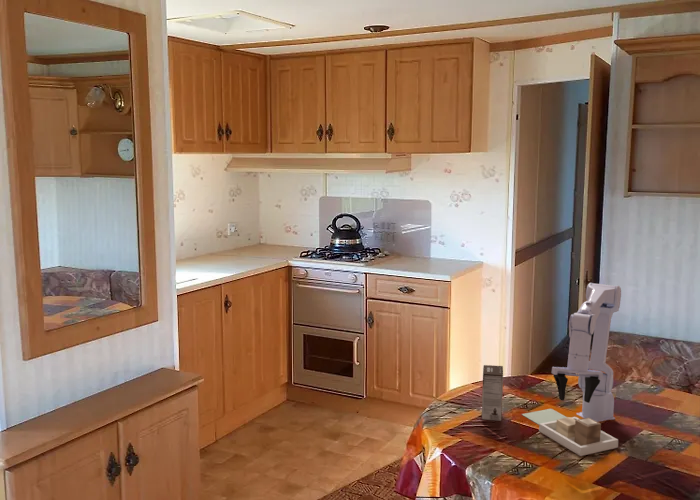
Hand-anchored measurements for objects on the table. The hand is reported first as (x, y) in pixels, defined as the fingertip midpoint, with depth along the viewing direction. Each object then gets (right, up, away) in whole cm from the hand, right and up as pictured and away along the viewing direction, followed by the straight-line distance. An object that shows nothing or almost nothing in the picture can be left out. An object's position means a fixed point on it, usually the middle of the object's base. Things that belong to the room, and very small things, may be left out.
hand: (574, 400), depth 192 cm
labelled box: (+4, -13, +2) cm, 14 cm away
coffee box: (-19, -11, +24) cm, 33 cm away
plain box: (+1, -12, +9) cm, 16 cm away
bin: (+3, -13, +6) cm, 15 cm away
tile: (-1, -11, +21) cm, 24 cm away
